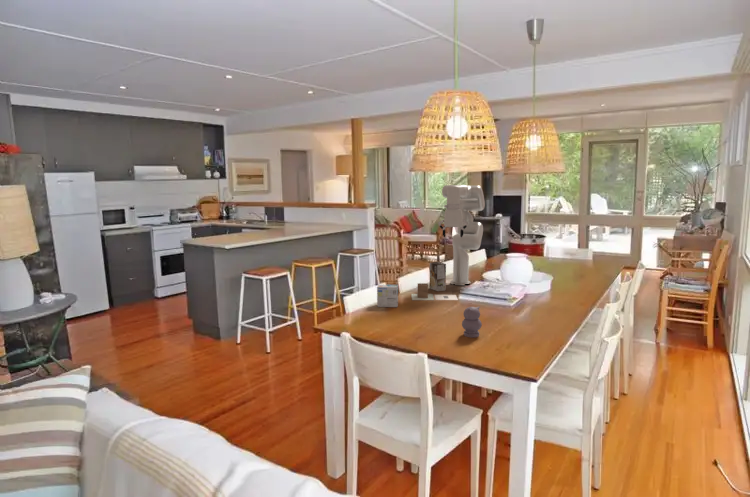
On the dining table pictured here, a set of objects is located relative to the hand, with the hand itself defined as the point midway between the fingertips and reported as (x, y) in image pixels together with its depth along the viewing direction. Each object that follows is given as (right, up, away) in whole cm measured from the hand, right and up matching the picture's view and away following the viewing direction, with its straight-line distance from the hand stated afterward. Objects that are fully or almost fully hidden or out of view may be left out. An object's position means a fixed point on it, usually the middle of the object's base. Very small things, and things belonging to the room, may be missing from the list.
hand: (452, 236), depth 266 cm
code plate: (-6, -34, -10) cm, 36 cm away
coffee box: (-8, -32, +10) cm, 34 cm away
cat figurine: (-5, -43, -74) cm, 85 cm away
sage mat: (-19, -34, -10) cm, 40 cm away
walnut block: (-19, -34, -10) cm, 40 cm away
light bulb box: (-38, -37, -26) cm, 59 cm away
